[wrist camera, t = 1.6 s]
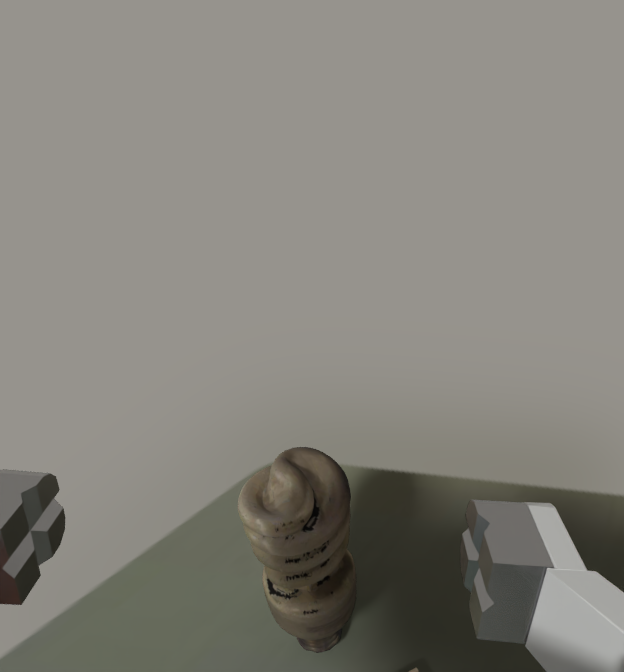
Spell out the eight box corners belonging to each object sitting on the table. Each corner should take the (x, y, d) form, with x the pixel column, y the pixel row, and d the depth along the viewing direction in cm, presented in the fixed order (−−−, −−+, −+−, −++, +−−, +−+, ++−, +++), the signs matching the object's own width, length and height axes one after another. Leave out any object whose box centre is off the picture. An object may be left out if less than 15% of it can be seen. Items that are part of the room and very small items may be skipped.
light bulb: (306, 710, 30) (275, 541, 22) (254, 636, 34) (211, 469, 26) (378, 644, 33) (373, 472, 25) (322, 582, 37) (302, 416, 29)
